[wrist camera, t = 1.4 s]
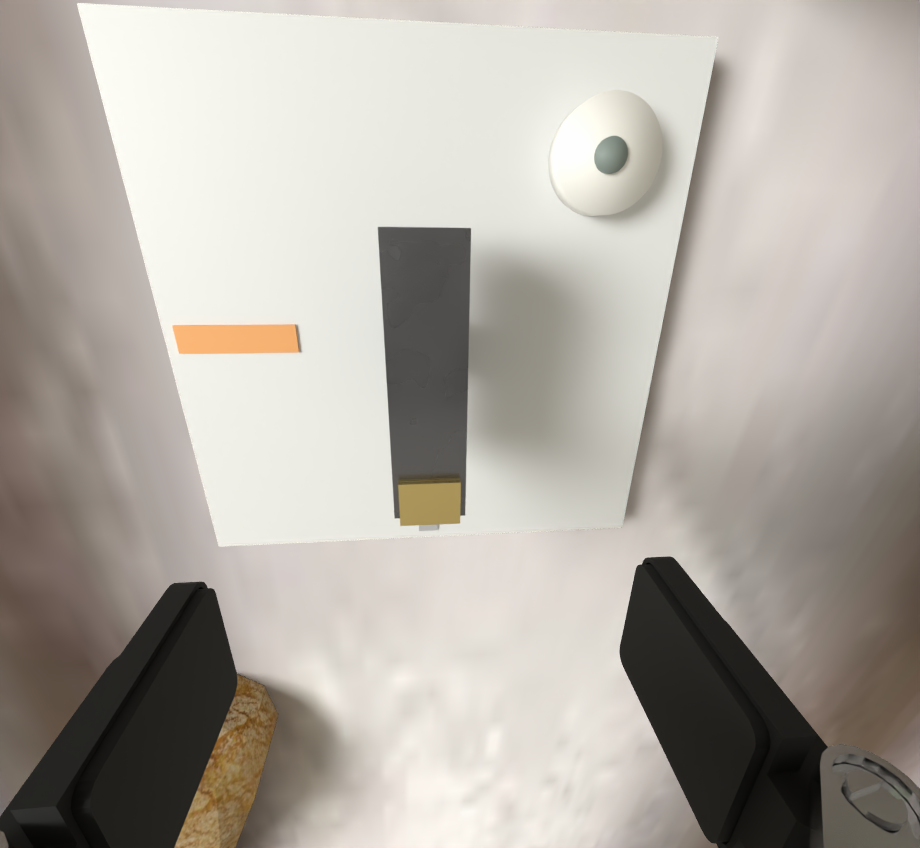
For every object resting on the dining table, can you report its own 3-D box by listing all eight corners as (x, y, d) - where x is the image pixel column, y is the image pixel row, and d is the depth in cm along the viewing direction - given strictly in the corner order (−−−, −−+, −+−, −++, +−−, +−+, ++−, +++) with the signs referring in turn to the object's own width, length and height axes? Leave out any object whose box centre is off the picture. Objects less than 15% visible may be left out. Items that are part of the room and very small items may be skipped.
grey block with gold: (391, 226, 18) (376, 226, 11) (451, 227, 18) (472, 228, 11) (401, 433, 21) (394, 526, 15) (450, 431, 22) (465, 523, 15)
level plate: (106, 22, 16) (44, -19, 13) (695, 51, 18) (744, 21, 15) (229, 528, 25) (207, 565, 22) (611, 512, 27) (632, 543, 24)
